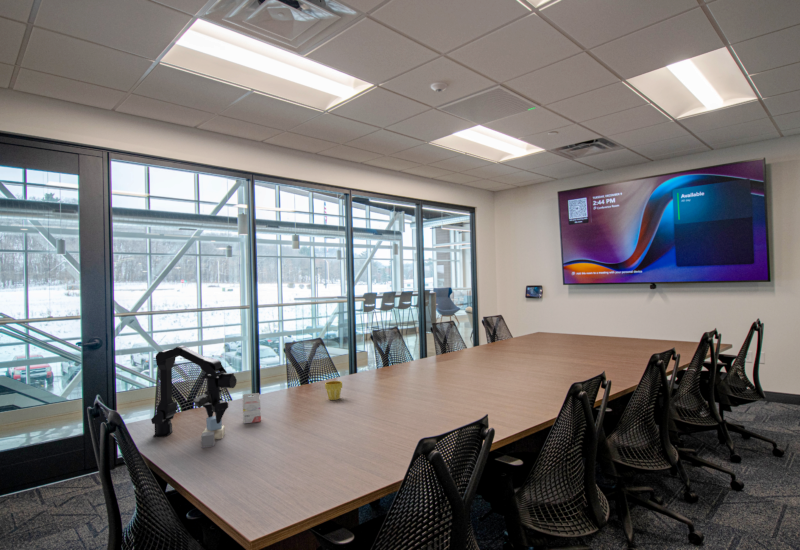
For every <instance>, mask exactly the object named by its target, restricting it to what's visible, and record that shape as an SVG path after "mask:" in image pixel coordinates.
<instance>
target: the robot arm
mask: <svg viewBox="0 0 800 550" xmlns="http://www.w3.org/2000/svg"><path fill="white" fill-rule="evenodd" d="M177 357H181V358H183V359H185V360H187V361H189V362H192V363H193V364H195V365H197V366H199V368H200V369H201V371H202V372H204V373H205V374H204V375H202V379H206V389H205V390H204V394H202V395H199V396H198V397H196V398H194V399H193V401H192V402H193V403H194V405H195V407H197V408H202V407H203V408H204V409H205V411H206V414H207V418H208V417H213V416H216V422H217V424H218V423H220V421H221V419H222V420H223V416H224V414H225V412H226V410H227V409H228V408H229V403H228V402H227V401H225V400H223V398H222V397H221V392H223V390H222V389H234V388H235V387H236V386H237V377H236V375H235V374H234V372H227V370H226V369H225V367H224V366H223V364H222V362H221V361H220V360H219V359H217V358H213V357H207V356H203V355H202V354H200V353H198V352H196V351H194V350H193V349H190V348H189V347H187V346H186V345H179V346H176V347H174V348H171V349H166V350H162V351H159V352H157V353H156V354H155V361H156V366H157V367H158V369H159V373H160V374H159V375H160V376H159V377H160V378H159V379H160V380H159V383H160V384H159V385H160V387H159V390H160V391H159V393H160V400H159V403H158V404H157V406H156V412H155V415H153V417H152V418H151V419H150V421H151V423H152V424H153V425H154V434H153V435H152V436H153V437H167V436H169V435H170V434H172V433H173V432H174V430H173V423H172V420H173V419H174V417H175V414H176V413H177V411H178V402H177V401H174V399H173V366H174V365H175V363H176V358H177Z"/></svg>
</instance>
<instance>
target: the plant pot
mask: <svg viewBox="0 0 800 550" xmlns="http://www.w3.org/2000/svg"><path fill="white" fill-rule="evenodd" d="M324 389H325V390H326V393H327V394H326V395H327V398H328V400H331V401H336V400H339V399H340V398H341V392H342V389H343V382H342V381H341V380H331V381H327V382H325V383H324Z"/></svg>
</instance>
